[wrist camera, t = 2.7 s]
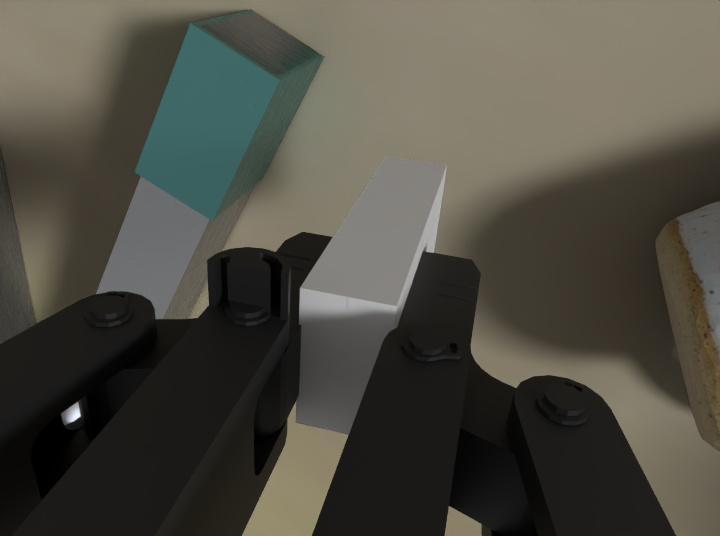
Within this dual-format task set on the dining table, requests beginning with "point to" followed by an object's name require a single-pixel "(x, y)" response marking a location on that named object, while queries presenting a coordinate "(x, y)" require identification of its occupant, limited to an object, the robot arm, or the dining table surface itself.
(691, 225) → the ceramic mug
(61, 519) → the robot arm
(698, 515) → the dining table surface
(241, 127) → the block
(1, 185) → the ball-hinged grey bar
